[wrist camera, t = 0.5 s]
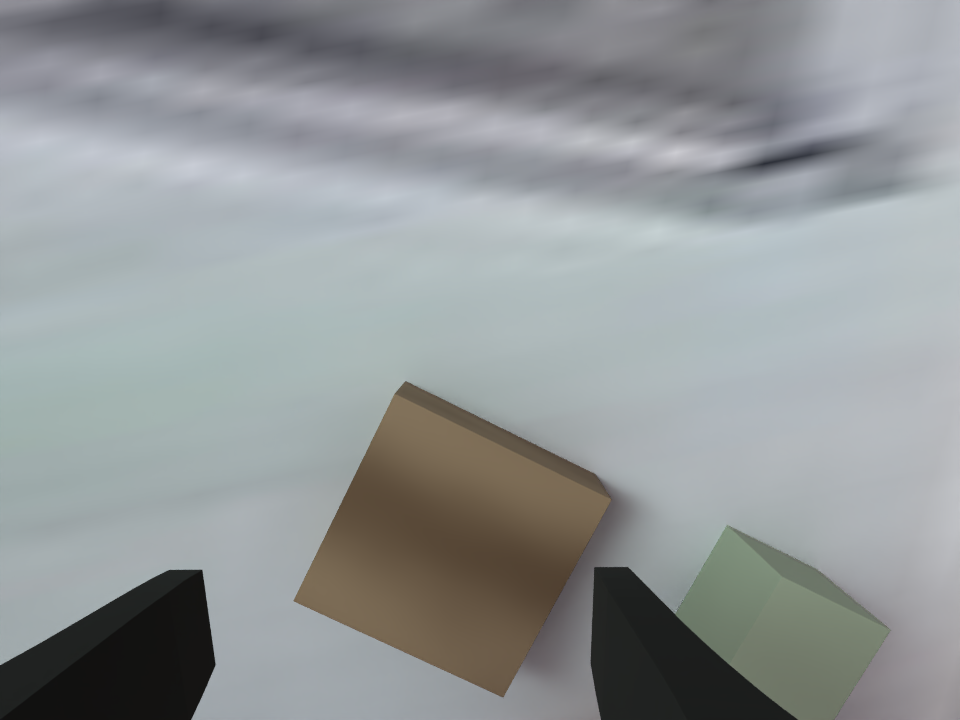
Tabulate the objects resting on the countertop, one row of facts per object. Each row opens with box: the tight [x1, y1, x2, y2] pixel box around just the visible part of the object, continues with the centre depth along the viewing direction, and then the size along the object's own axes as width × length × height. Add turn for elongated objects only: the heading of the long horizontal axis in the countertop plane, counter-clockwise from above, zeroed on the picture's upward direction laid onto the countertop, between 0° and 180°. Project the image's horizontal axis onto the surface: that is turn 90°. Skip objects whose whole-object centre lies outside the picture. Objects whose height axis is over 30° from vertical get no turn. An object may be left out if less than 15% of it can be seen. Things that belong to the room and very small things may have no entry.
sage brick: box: [675, 525, 891, 720], centre depth 20 cm, size 6×4×4 cm, turn 153°
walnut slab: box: [294, 381, 612, 697], centre depth 20 cm, size 8×8×3 cm
